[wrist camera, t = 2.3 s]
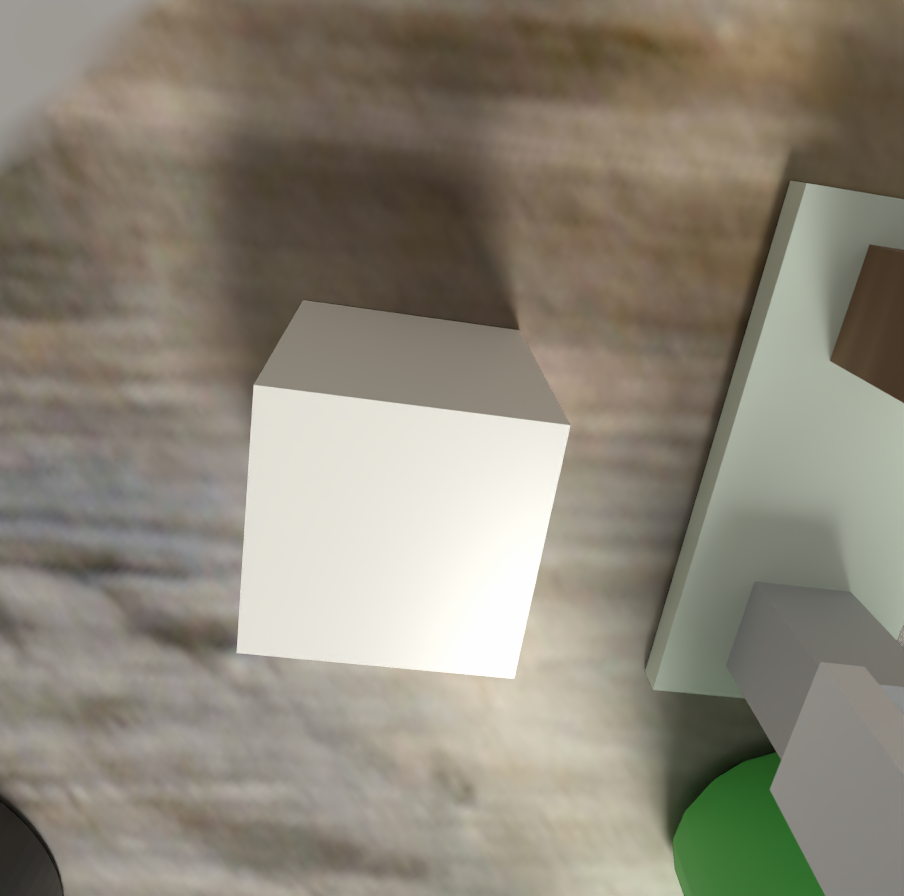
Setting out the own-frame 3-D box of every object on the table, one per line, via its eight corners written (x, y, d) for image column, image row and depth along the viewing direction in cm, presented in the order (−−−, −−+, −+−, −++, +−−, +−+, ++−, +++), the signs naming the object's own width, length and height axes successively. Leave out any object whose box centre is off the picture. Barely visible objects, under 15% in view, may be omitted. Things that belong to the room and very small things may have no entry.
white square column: (286, 498, 25) (236, 652, 18) (303, 299, 23) (253, 384, 16) (484, 520, 26) (513, 678, 19) (519, 330, 24) (570, 425, 16)
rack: (645, 671, 29) (701, 803, 23) (790, 180, 22) (915, 200, 17) (852, 691, 30) (955, 823, 24) (1048, 223, 23) (1248, 255, 18)
